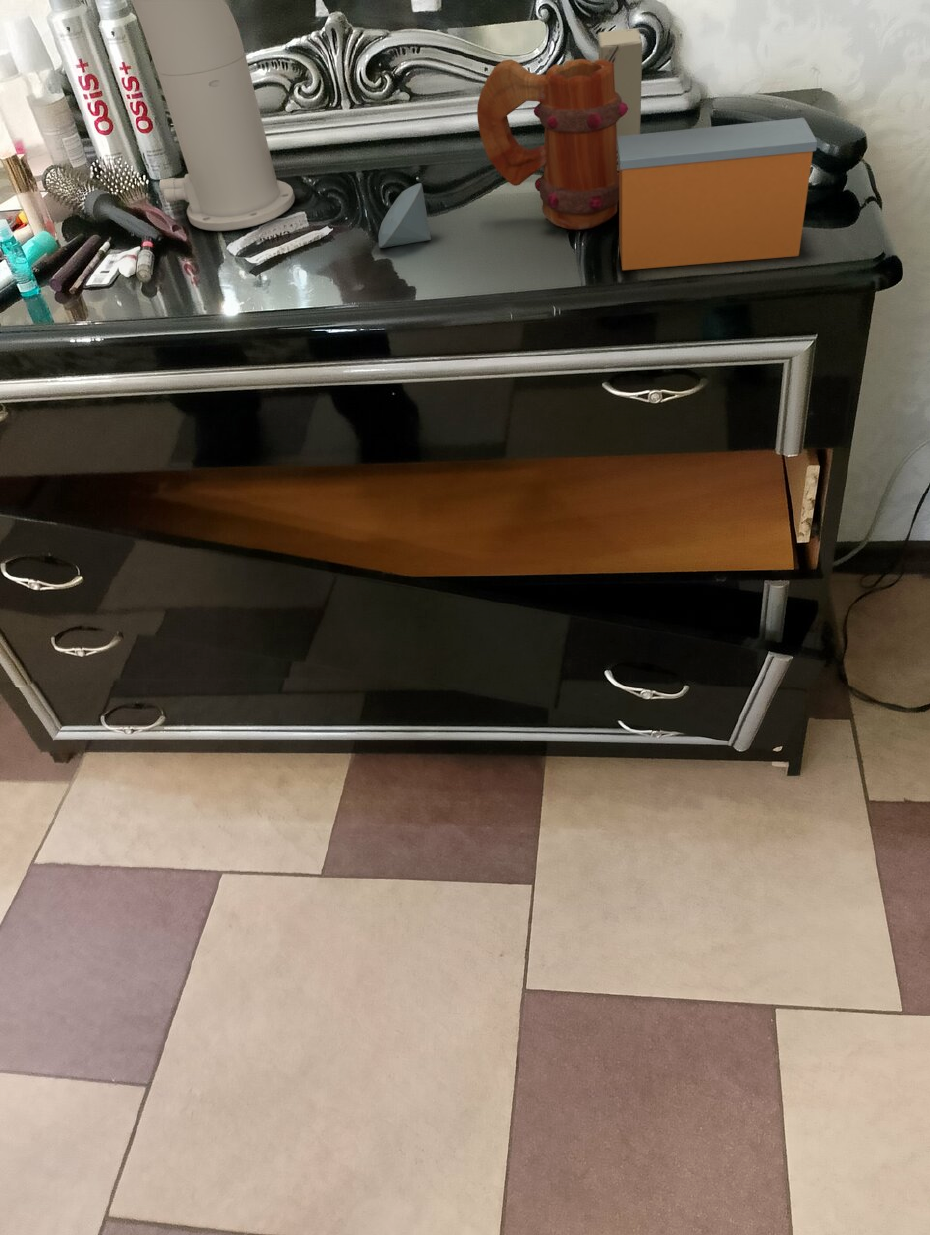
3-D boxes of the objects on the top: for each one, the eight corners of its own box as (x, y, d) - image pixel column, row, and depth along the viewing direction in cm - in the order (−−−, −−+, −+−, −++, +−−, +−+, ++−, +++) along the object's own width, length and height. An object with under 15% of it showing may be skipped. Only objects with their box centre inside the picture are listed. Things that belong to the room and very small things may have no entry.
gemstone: (459, 194, 97) (420, 162, 95) (442, 235, 93) (401, 202, 91) (420, 243, 103) (382, 214, 101) (402, 284, 98) (363, 255, 97)
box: (598, 157, 109) (596, 31, 100) (637, 153, 108) (638, 26, 99) (601, 174, 105) (599, 44, 96) (641, 170, 104) (643, 39, 95)
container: (620, 271, 88) (619, 160, 81) (617, 244, 92) (616, 136, 85) (801, 257, 86) (817, 141, 79) (790, 229, 90) (804, 117, 83)
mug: (634, 203, 98) (635, 41, 88) (622, 237, 93) (621, 68, 82) (499, 205, 102) (485, 50, 92) (480, 237, 97) (463, 76, 86)
